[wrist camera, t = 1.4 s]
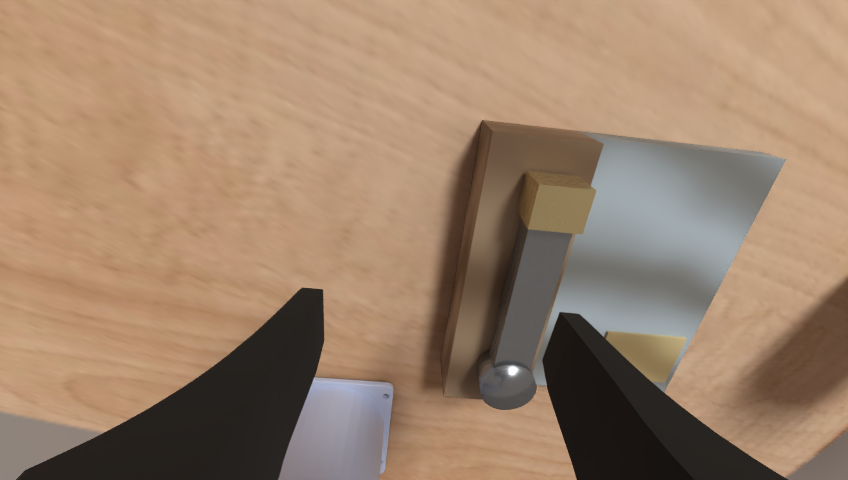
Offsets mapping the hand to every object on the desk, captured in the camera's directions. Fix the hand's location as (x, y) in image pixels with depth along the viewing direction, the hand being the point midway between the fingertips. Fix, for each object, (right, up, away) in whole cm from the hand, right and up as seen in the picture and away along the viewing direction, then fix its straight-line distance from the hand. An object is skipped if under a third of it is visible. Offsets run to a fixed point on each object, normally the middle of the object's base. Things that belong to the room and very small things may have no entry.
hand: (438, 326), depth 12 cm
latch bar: (+5, 0, +8) cm, 10 cm away
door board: (+10, +1, +12) cm, 15 cm away
